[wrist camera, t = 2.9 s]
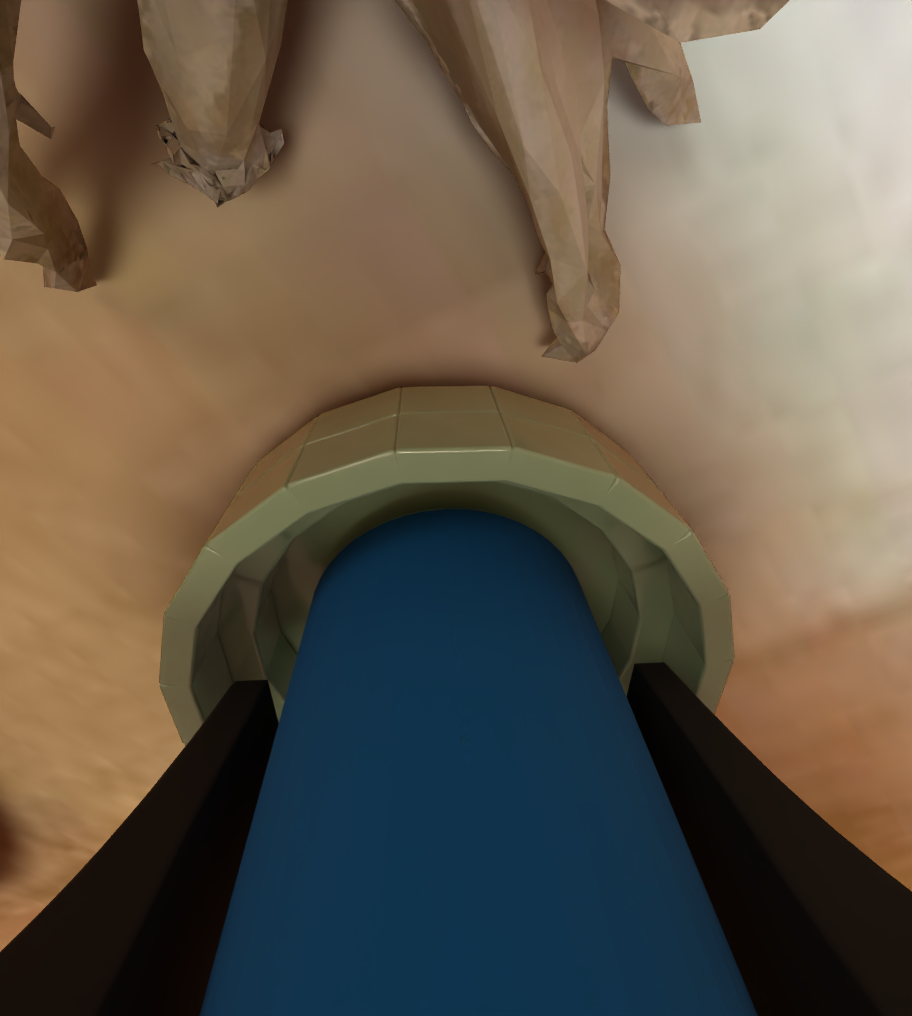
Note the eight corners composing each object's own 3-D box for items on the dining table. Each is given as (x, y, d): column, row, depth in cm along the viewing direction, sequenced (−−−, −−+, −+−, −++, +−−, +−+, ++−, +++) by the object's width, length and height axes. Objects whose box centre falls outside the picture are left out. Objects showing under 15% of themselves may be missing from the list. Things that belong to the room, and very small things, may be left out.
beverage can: (270, 535, 12) (-661, 2606, 2) (546, 455, 11) (1764, 2933, 1) (372, 713, 15) (269, 1797, 5) (592, 658, 15) (1007, 1768, 4)
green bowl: (710, 374, 11) (818, 440, 8) (624, 723, 17) (668, 839, 14) (165, 383, 11) (63, 457, 8) (266, 741, 16) (231, 865, 13)
